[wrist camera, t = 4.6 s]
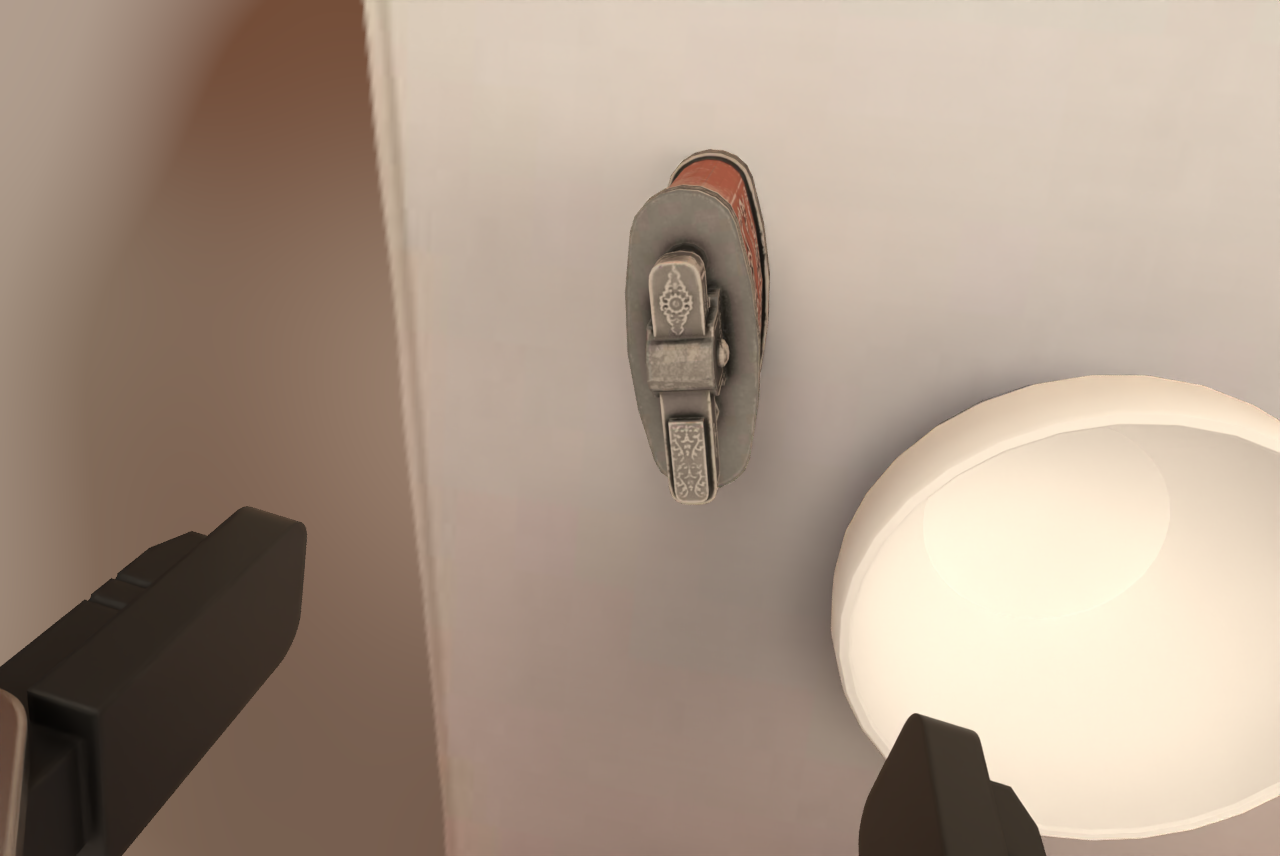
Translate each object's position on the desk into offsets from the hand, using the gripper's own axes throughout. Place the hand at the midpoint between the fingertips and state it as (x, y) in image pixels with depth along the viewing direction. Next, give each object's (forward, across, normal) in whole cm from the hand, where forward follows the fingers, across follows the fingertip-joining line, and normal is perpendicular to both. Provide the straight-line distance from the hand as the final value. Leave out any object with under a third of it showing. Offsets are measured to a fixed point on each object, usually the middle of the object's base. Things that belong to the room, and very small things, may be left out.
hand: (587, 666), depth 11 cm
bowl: (+20, -13, +5) cm, 25 cm away
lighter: (+20, 0, 0) cm, 20 cm away
